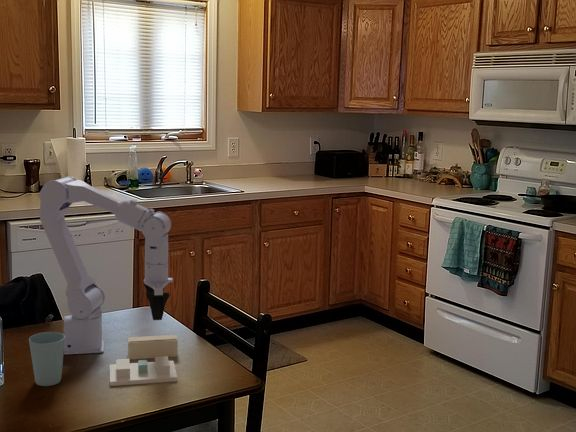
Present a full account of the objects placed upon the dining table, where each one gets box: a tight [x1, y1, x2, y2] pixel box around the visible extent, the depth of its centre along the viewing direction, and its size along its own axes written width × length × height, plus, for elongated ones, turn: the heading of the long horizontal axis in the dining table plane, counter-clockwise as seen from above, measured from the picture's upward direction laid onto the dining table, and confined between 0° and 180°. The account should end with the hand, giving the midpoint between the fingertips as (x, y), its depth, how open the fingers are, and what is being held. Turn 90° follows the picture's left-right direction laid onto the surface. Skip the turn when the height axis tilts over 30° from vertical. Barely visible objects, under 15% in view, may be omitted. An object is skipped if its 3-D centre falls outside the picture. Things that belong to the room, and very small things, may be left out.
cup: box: [28, 331, 65, 387], centre depth 155 cm, size 8×8×10 cm
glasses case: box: [127, 334, 179, 360], centre depth 173 cm, size 12×4×5 cm, turn 105°
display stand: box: [109, 356, 178, 387], centre depth 161 cm, size 15×10×3 cm, turn 104°
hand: (156, 314), depth 172 cm, fingers open, 7 cm apart
